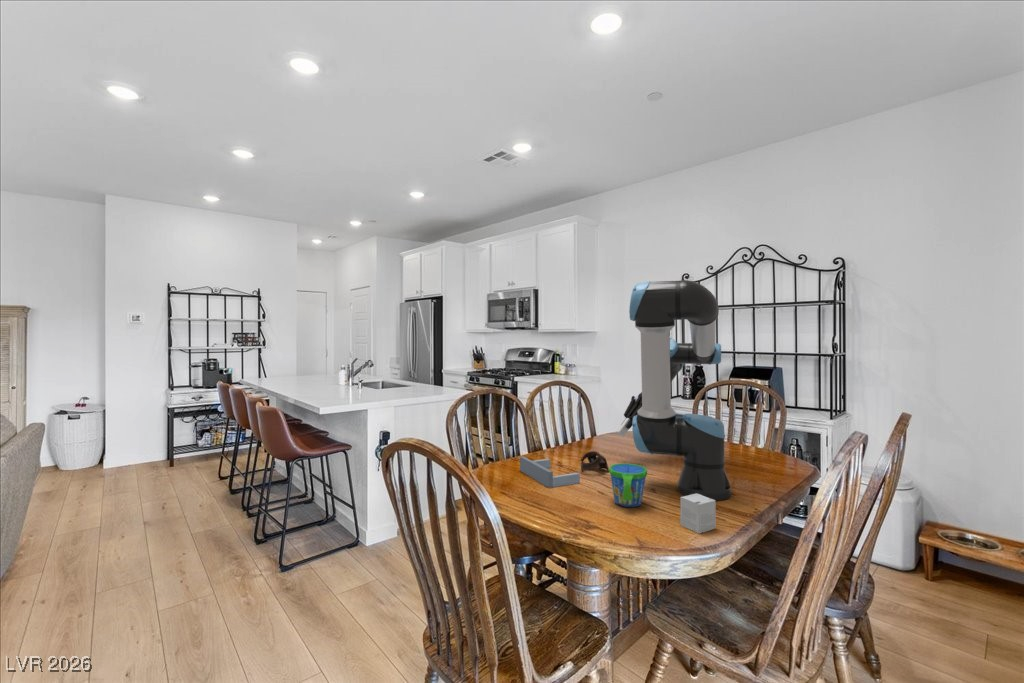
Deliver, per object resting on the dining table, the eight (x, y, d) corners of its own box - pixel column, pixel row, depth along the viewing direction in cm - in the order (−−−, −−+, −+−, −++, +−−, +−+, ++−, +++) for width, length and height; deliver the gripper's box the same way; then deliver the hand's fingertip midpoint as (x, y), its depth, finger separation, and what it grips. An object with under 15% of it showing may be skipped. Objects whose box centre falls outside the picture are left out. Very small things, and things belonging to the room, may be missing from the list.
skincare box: (696, 520, 124) (696, 492, 124) (716, 529, 118) (716, 499, 118) (679, 525, 121) (679, 496, 121) (699, 534, 115) (699, 504, 115)
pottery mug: (614, 476, 165) (606, 457, 162) (590, 488, 165) (581, 469, 162) (603, 458, 176) (595, 440, 174) (581, 469, 176) (572, 452, 174)
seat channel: (548, 466, 175) (548, 453, 174) (579, 483, 155) (579, 467, 155) (520, 470, 170) (519, 456, 170) (548, 487, 151) (548, 472, 151)
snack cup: (644, 515, 127) (644, 477, 127) (604, 510, 131) (604, 473, 131) (649, 496, 142) (649, 462, 142) (613, 492, 146) (613, 459, 146)
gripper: (673, 394, 177) (637, 444, 171) (649, 390, 189) (615, 436, 183) (662, 381, 175) (625, 430, 168) (638, 378, 187) (603, 424, 180)
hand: (620, 434), depth 176 cm, fingers closed
